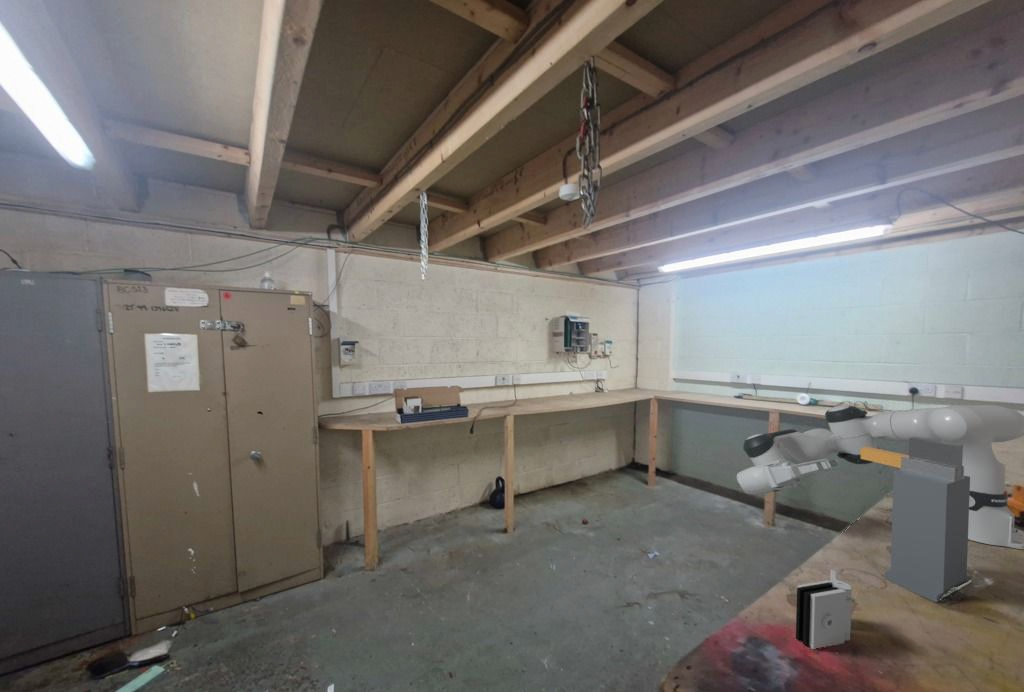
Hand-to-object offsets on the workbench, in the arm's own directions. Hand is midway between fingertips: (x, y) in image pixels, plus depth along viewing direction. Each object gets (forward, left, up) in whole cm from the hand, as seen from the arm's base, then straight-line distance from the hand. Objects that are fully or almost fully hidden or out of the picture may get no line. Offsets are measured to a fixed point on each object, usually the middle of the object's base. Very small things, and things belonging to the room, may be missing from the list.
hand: (828, 464), depth 110 cm
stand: (0, +21, -22) cm, 30 cm away
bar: (0, +17, +4) cm, 17 cm away
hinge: (+43, +21, -22) cm, 52 cm away
